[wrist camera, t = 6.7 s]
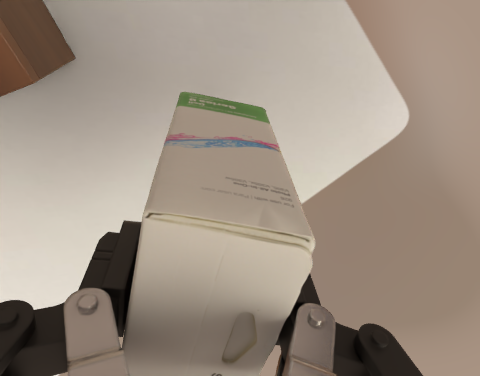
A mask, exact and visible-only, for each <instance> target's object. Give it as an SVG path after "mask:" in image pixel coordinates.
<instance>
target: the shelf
mask: <svg viewBox="0 0 480 376" xmlns="http://www.w3.org/2000/svg"><path fill="white" fill-rule="evenodd" d="M73 59H75V57H74V55H73V53H72V51H71V50H70V48H69V46H68V44H67V43H66V41H65V39H64V37H63V36H62V34H61V32H60V30H59V29H58V27H57V25H56V23H55V22H54V20H53V18H52V16H51V15H50V13H49V11H48V9H47V8H46V6H45V4H44V2H43V1H42V0H0V97H1V96H3V95H6V94H8V93H11V92H13V91H16V90H18V89H21V88H23V87H26V86H28V85H31V84H33V83H35V82H37V81H38V80H40V79H42V78H44V77H45V76H47V75H49V74H50V73H52V72H54V71H55V70H57V69H59V68H60V67H62V66H63V65H65V64H67V63H68V62H70V61H72V60H73Z"/></svg>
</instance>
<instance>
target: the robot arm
mask: <svg viewBox="0 0 480 376" xmlns="http://www.w3.org/2000/svg"><path fill="white" fill-rule="evenodd" d="M141 224H142V222H134V221H124V222H123V224H122V227H121V230H120V233H114V232H108V233H107V234H105V235H104V236H103V237H102V238H101V239H100V240H99V242H98V244H97V246H96V249H95V252H94V254H93V256H92V260H91V261H90V263H89V266H88V268H87V271H86V273H85V275H84V278H83V280H82V283H81V285H80V287H79V289H78V291H76V292H74V293H73V294H71V295H70V296H69V297H68V298H67V300H66V301H65V302H64V303H62V304H60V305H57V306H53V307H48V308H43V309H37V310H33V307H32V306H31V305H30V304H29V303H27V302H24V301H20V300H10V301H5V302H2V303H0V376H54V375H57V374H61V373H65V372H68V376H130V374H129V369H128V365H127V360H126V355H125V352H124V349H123V348H121V347H120V342H119V337H123V334H124V330H125V325H126V318H127V312H128V306H129V300H130V294H131V288H132V282H133V276H134V270H135V263H136V257H137V251H138V244H139V237H140V231H141ZM275 345H280V347H281V355H280V358H279V361H278V366H277V370H276V375H275V376H423V375H422V374H421V372H420V371H419V370H418V368H417V367H416V366H415V364H414V363H413V362H412V360H411V359H410V358H409V356H408V355H407V354H406V352H405V351H404V350H403V348H402V347H401V345H400V344H399V343H398V342H397V340H396V339H395V338H394V337H393V335H392V334H391V333H390V332H389V331H387V330H386V329H384V328H383V327H381V326H379V325H376V324H364V325H362V326H361V327H360V329H359V331H358V330H354V329H352V328H349V327H346V326H343V325H340V324H338V323H337V322H335V319H334V317H333V316H332V314H331V313H330V312H329V311H328V310H327V309H325V308H324V307H322V306H321V304H320V301H319V298H318V295H317V293H316V290H315V287H314V284H313V281H312V278H311V275H310V273H309V275H308V277H307V279H306V281H305V282H304V284H303V286H302V288H301V291H300V294H299V296H298V298H297V301H296V303H295V305H294V307H293V309H292V311H291V313H290V315H289V316H288V317H287V319H286V321H285V323H284V325H283V327H282V329H281V331H280V334H279V337H278V340H277V342H276V344H275Z"/></svg>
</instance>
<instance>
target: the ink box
mask: <svg viewBox="0 0 480 376" xmlns="http://www.w3.org/2000/svg"><path fill="white" fill-rule="evenodd" d="M314 248H315V240H314V236H313V234H312V232H311V229H310V226H309V224H308V221H307V219H306V216H305V213H304V211H303V208H302V205H301V203H300V200H299V198H298V195H297V193H296V190H295V187H294V184H293V182H292V179H291V177H290V174H289V172H288V169H287V166H286V164H285V161H284V159H283V156H282V154H281V151H280V149H279V146H278V143H277V140H276V138H275V135H274V132H273V130H272V127H271V125H270V122H269V120H268V117H267V114H266V110H265V109H263V108H262V107H257V106H253V105H248V104H244V103H239V102H233V101H228V100H224V99H219V98H215V97H210V96H205V95H200V94H195V93H189V92H182V93H180V95H179V100H178V103H177V106H176V110H175V112H174V115H173V119H172V122H171V125H170V128H169V131H168V134H167V137H166V140H165V143H164V147H163V150H162V153H161V156H160V159H159V162H158V165H157V168H156V172H155V175H154V179H153V182H152V186H151V189H150V193H149V197H148V200H147V203H146V206H145V209H144V213H143V217H142V224H141V231H140V237H139V244H138V251H137V257H136V263H135V270H134V276H133V282H132V288H131V294H130V300H129V306H128V312H127V318H126V325H125V331H124V338H123V344H122V348H123V349H124V352H125V355H126V360H127V365H128V369H129V374H130V376H260V374H261V371H262V368H263V366H264V364H265V361H266V360H267V358H268V356H269V355H270V353H271V352H272V350H273V348H274V346H275V344H276V342H277V340H278V337H279V334H280V331H281V329H282V327H283V325H284V323H285V321H286V319H287V317H288V316H289V315H290V313H291V311H292V309H293V307H294V305H295V303H296V301H297V298H298V296H299V294H300V291H301V288H302V286H303V284H304V282H305V281H306V279H307V277H308V275H309V273H310V271H311V269H312V266H313V260H312V257H311V255H312V252H313V250H314Z"/></svg>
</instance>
